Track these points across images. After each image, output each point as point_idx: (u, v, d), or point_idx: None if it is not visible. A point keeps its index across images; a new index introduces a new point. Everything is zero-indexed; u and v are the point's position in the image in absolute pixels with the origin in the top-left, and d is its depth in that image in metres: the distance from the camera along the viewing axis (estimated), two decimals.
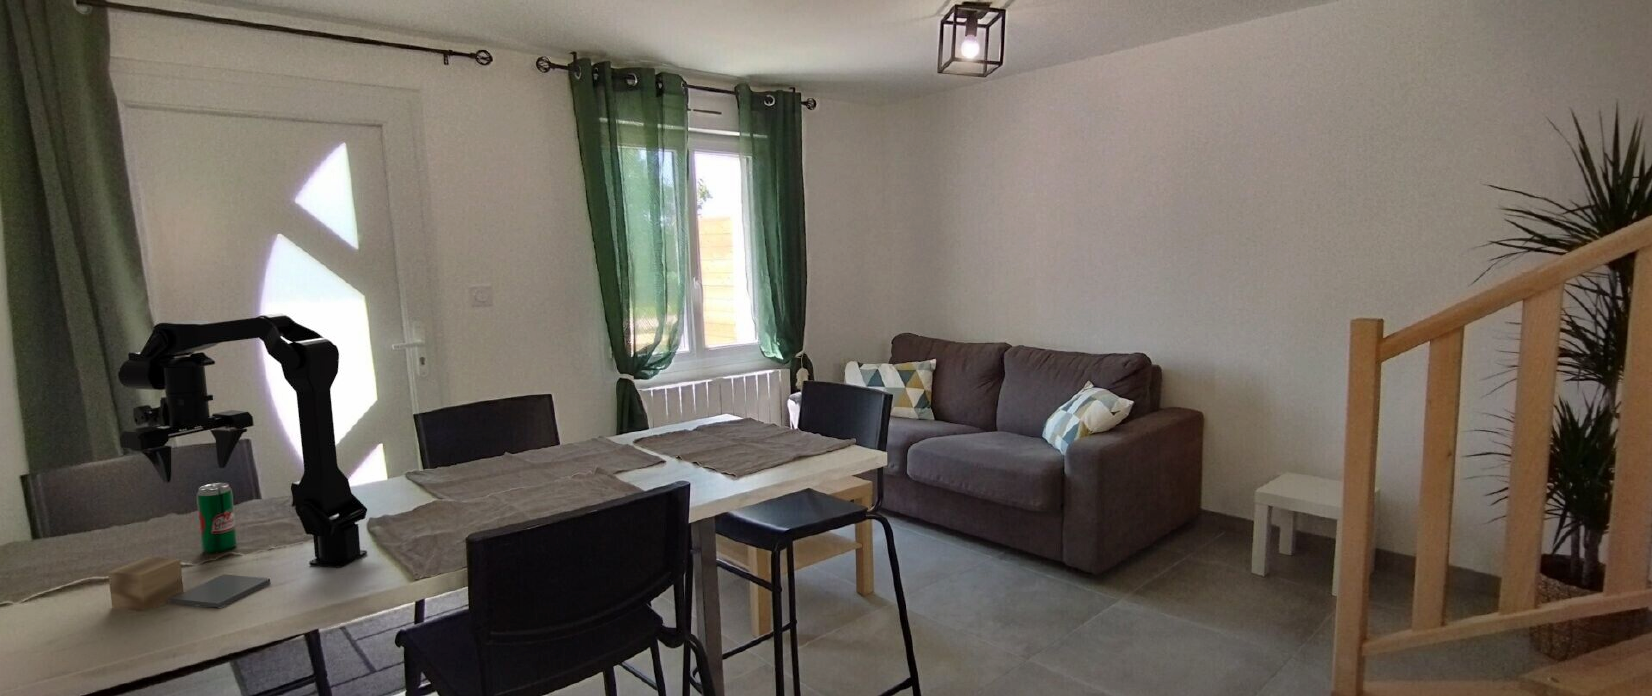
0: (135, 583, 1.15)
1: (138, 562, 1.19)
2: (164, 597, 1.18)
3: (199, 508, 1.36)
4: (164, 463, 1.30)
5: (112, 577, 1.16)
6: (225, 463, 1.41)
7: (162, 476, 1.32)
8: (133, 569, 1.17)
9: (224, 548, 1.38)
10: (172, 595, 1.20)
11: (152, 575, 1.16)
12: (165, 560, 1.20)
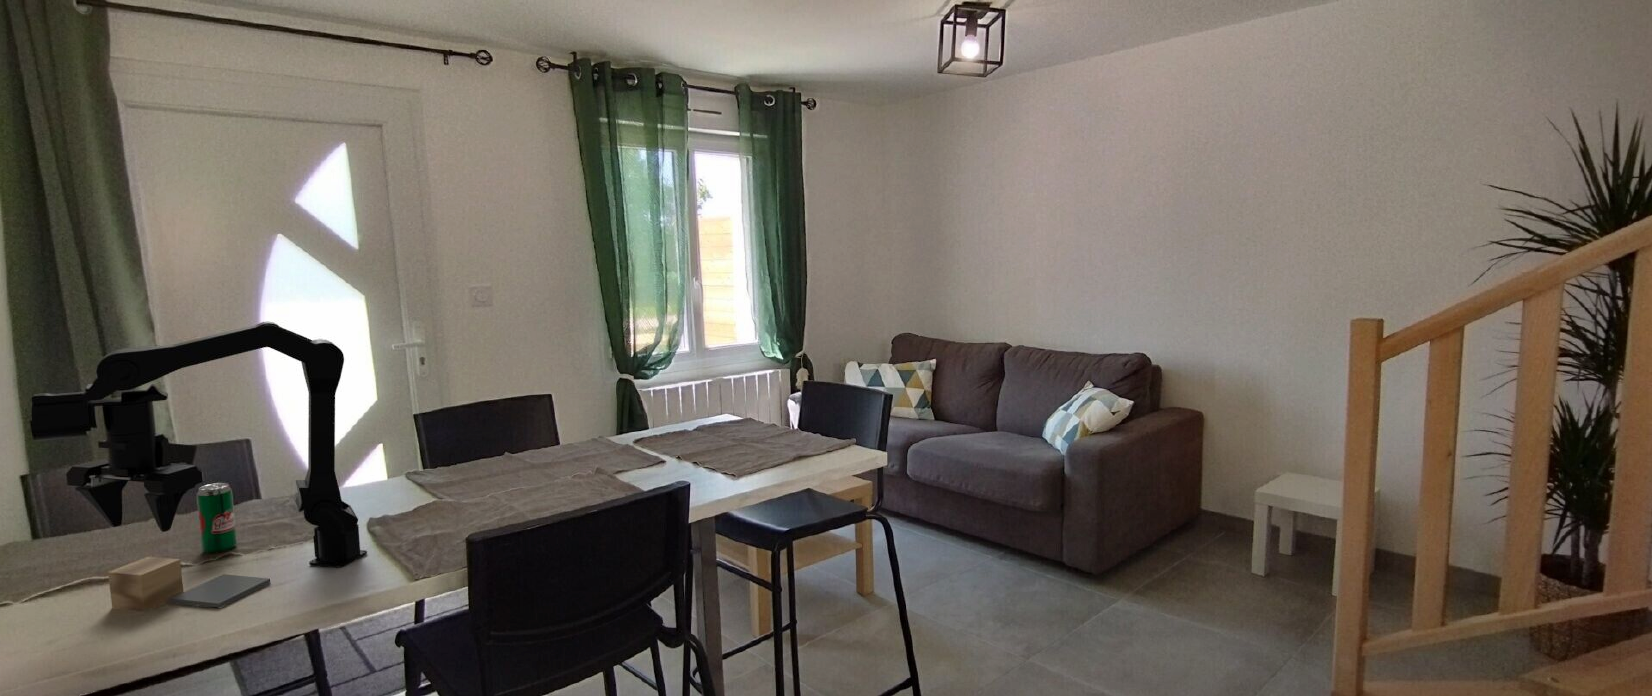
0: (135, 583, 1.15)
1: (138, 562, 1.19)
2: (164, 597, 1.18)
3: (199, 508, 1.36)
4: (94, 505, 1.16)
5: (112, 577, 1.16)
6: (160, 527, 1.16)
7: None
8: (133, 569, 1.17)
9: (224, 548, 1.38)
10: (172, 595, 1.20)
11: (152, 575, 1.16)
12: (165, 560, 1.20)
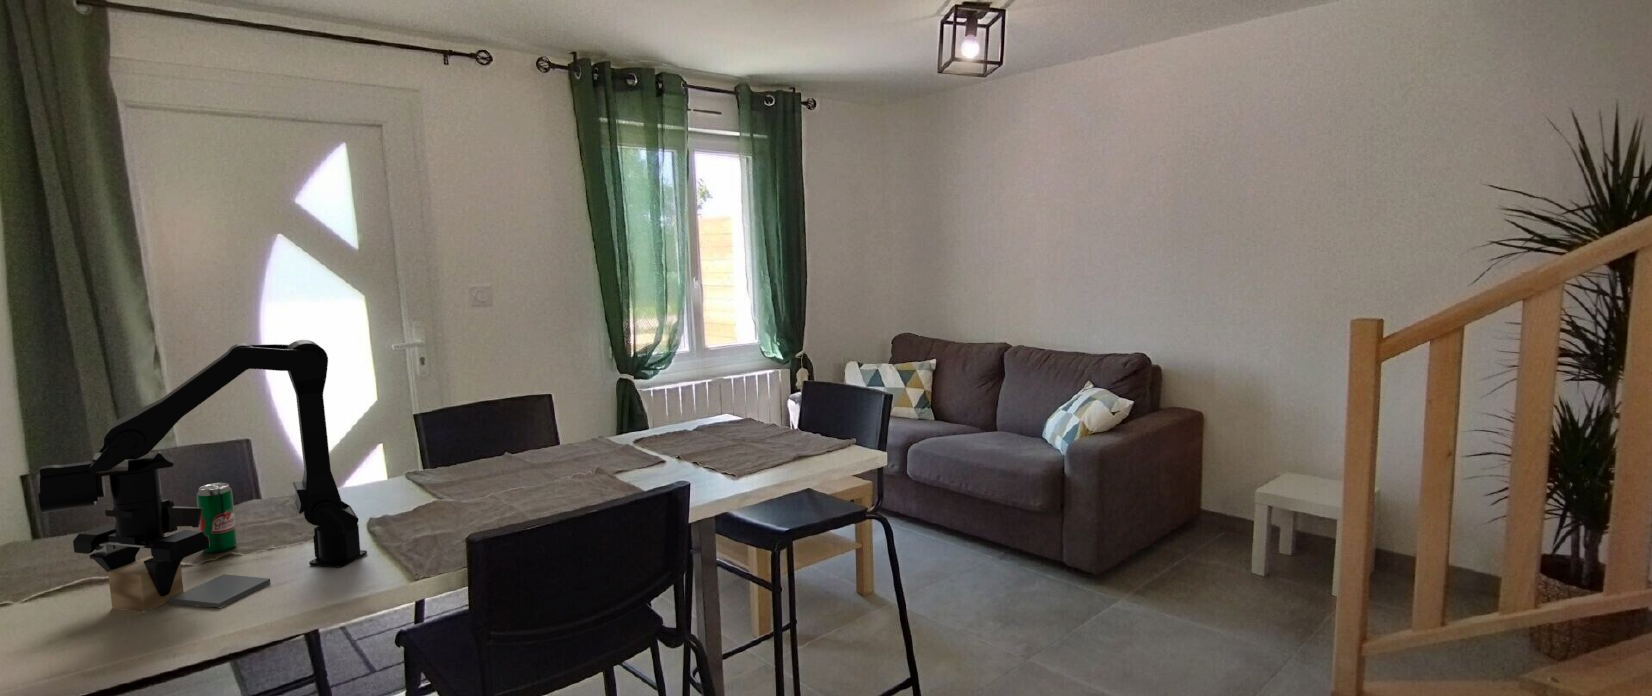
0: (135, 583, 1.15)
1: (138, 562, 1.19)
2: (164, 597, 1.18)
3: None
4: None
5: (112, 577, 1.16)
6: (159, 592, 1.17)
7: None
8: (133, 568, 1.17)
9: (224, 548, 1.38)
10: (172, 595, 1.20)
11: None
12: None
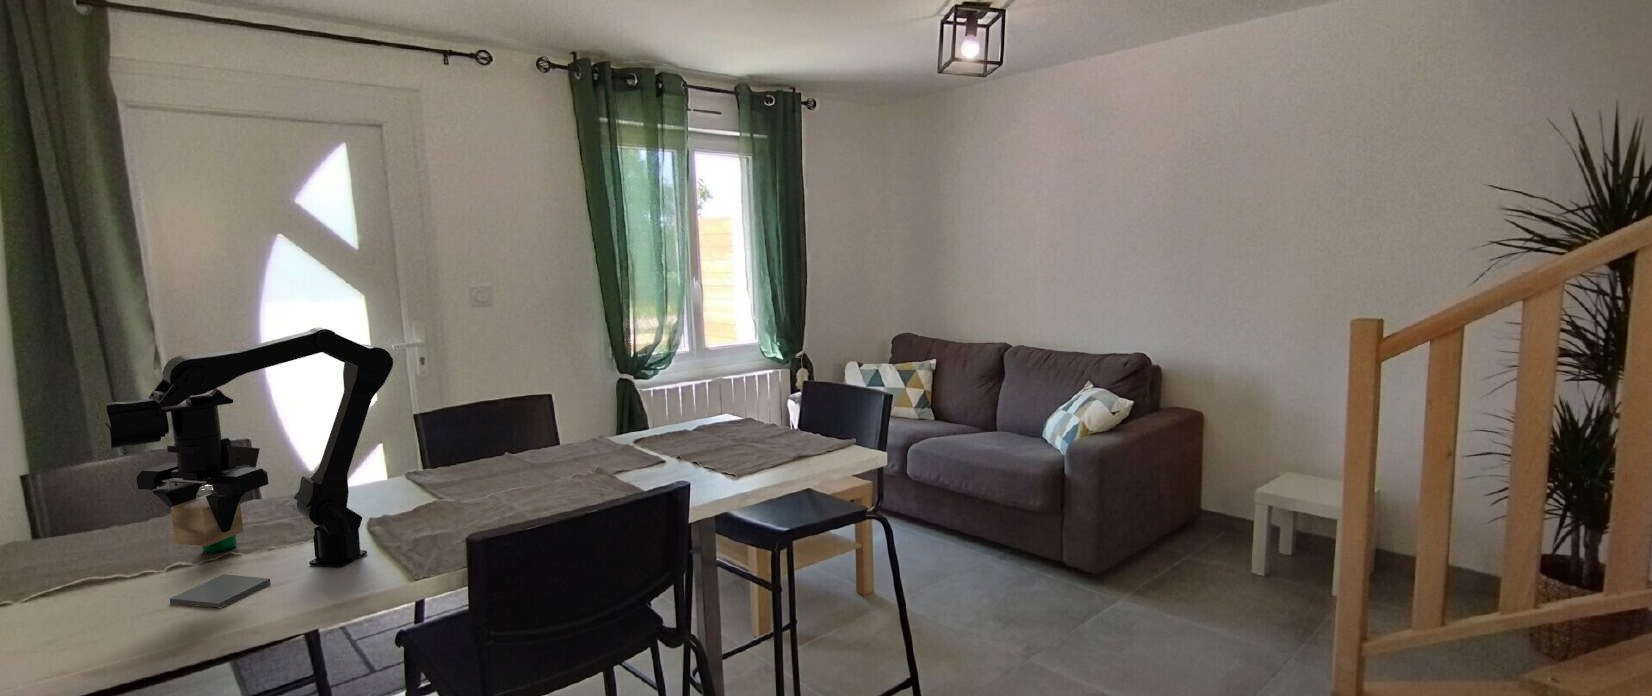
0: (197, 517, 1.17)
1: (198, 499, 1.21)
2: (225, 532, 1.20)
3: None
4: None
5: (175, 512, 1.17)
6: (221, 527, 1.19)
7: None
8: (195, 504, 1.19)
9: (224, 548, 1.38)
10: (232, 531, 1.21)
11: None
12: None
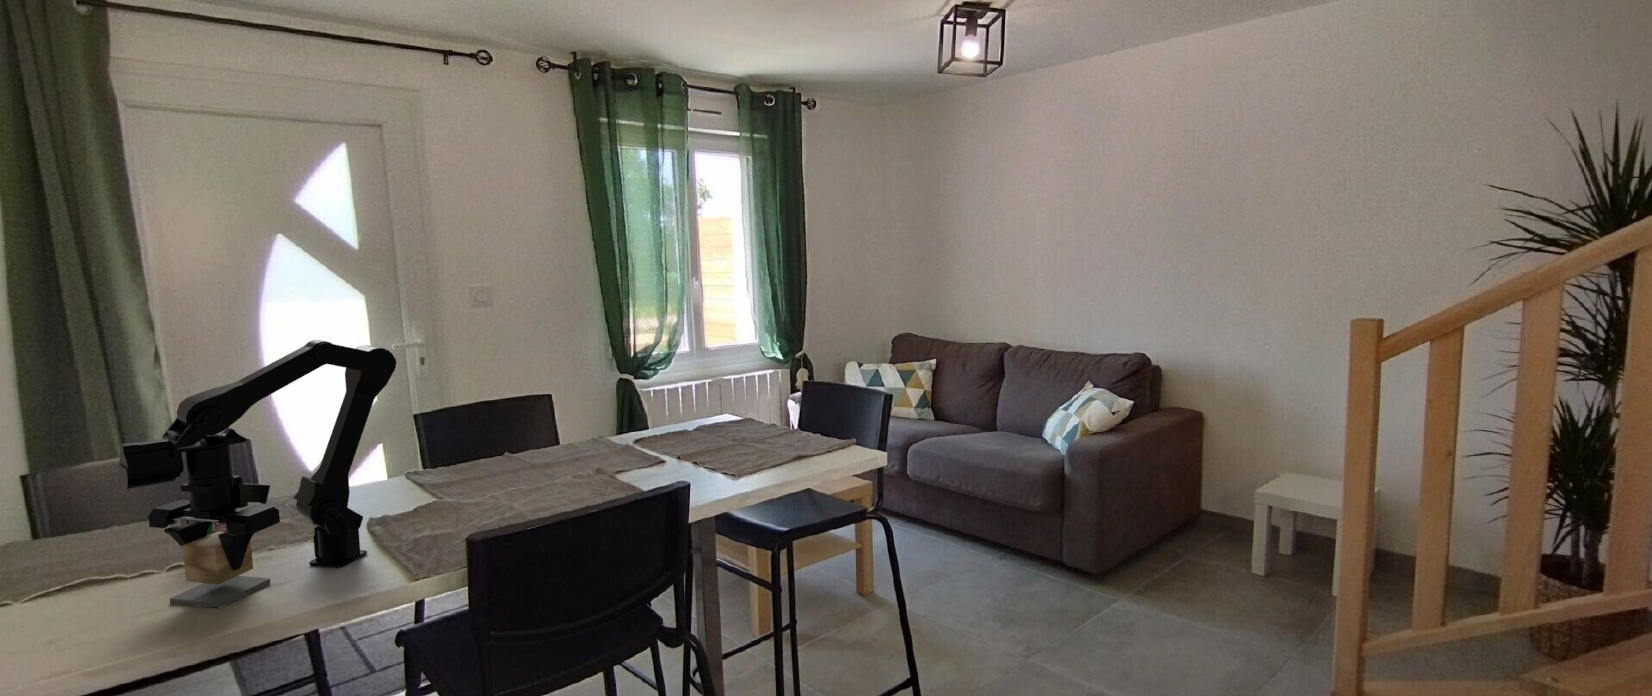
0: (209, 556, 1.18)
1: (209, 536, 1.22)
2: (236, 570, 1.21)
3: None
4: None
5: (186, 550, 1.18)
6: (232, 565, 1.20)
7: None
8: (206, 542, 1.20)
9: None
10: (243, 568, 1.22)
11: None
12: None
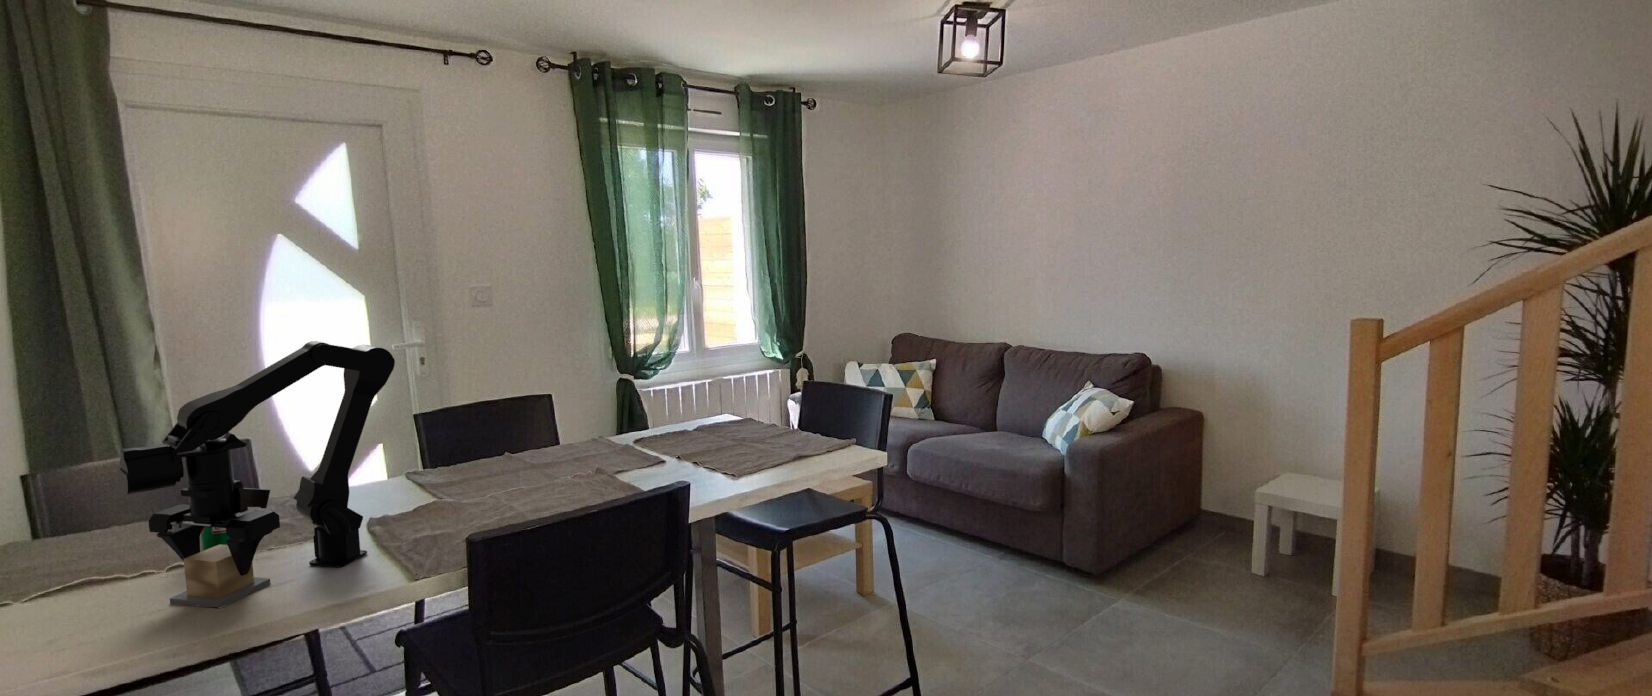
0: (210, 570, 1.18)
1: (211, 549, 1.22)
2: (236, 584, 1.21)
3: None
4: (174, 550, 1.20)
5: (187, 564, 1.19)
6: (239, 571, 1.20)
7: None
8: (207, 556, 1.20)
9: None
10: (244, 582, 1.23)
11: (226, 562, 1.19)
12: None
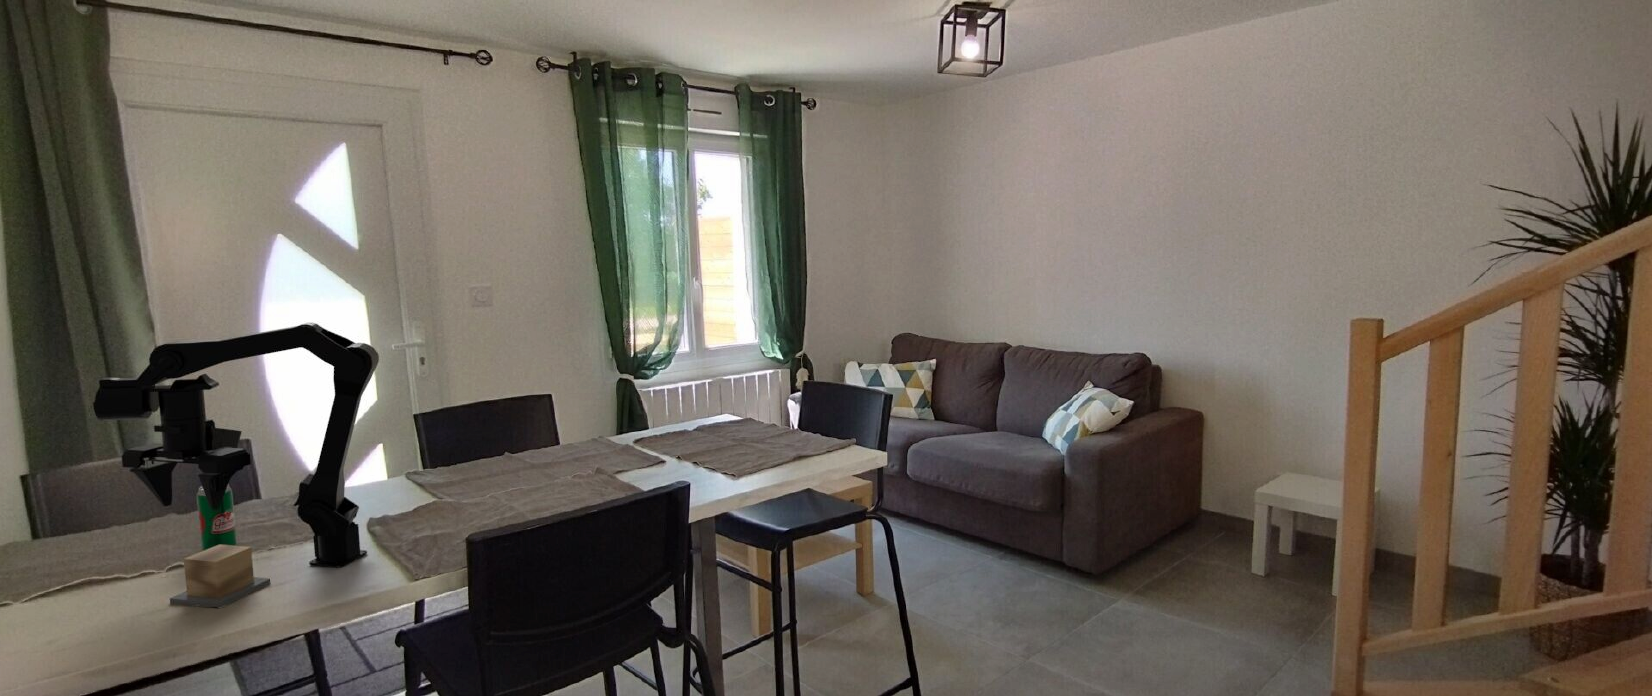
0: (210, 570, 1.18)
1: (211, 549, 1.22)
2: (236, 584, 1.21)
3: (199, 508, 1.36)
4: (147, 486, 1.25)
5: (187, 564, 1.19)
6: (211, 505, 1.25)
7: None
8: (207, 556, 1.20)
9: None
10: (244, 582, 1.23)
11: (226, 562, 1.19)
12: (237, 548, 1.23)
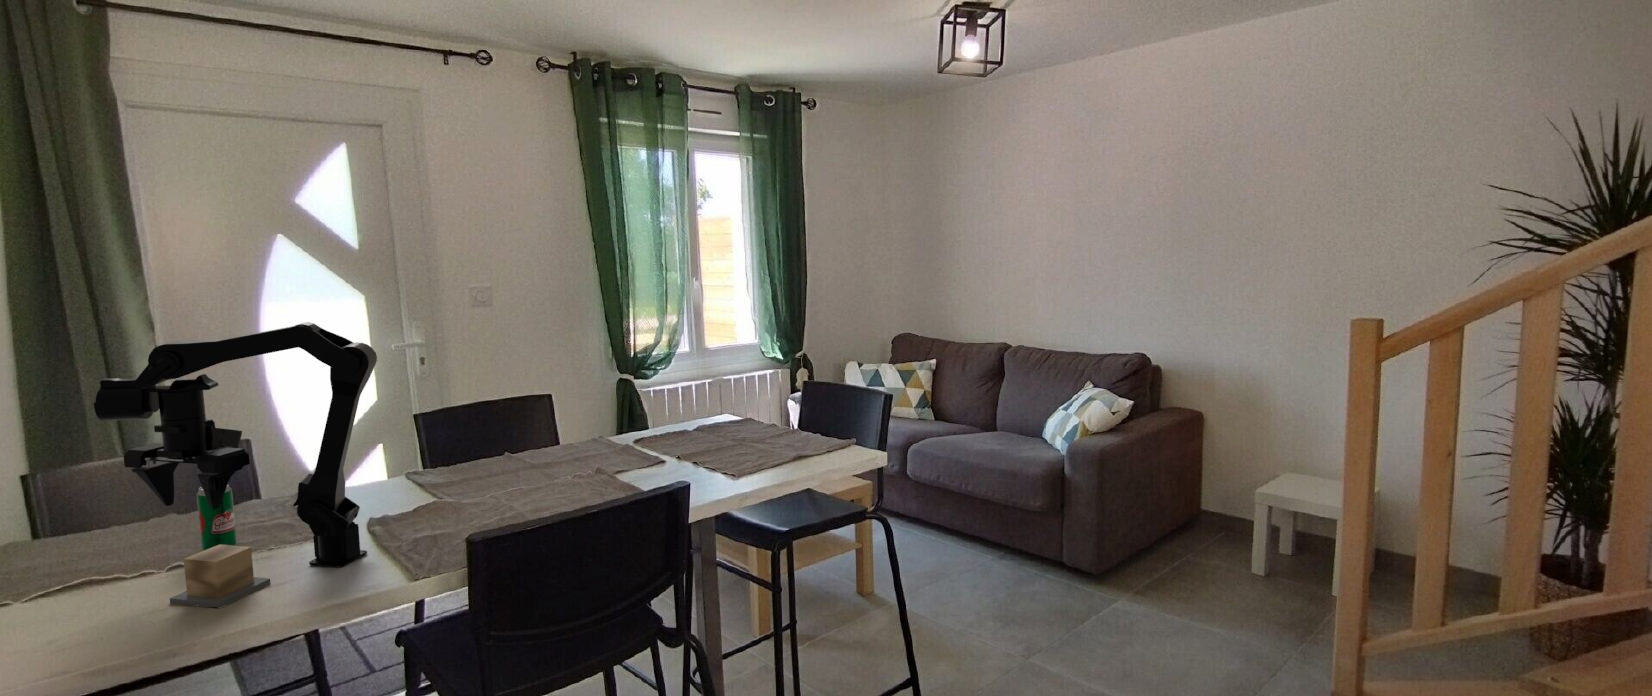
0: (210, 570, 1.18)
1: (211, 549, 1.22)
2: (236, 584, 1.21)
3: (199, 508, 1.36)
4: (149, 485, 1.25)
5: (187, 564, 1.19)
6: (211, 505, 1.25)
7: None
8: (207, 556, 1.20)
9: None
10: (244, 582, 1.23)
11: (226, 562, 1.19)
12: (237, 548, 1.23)
